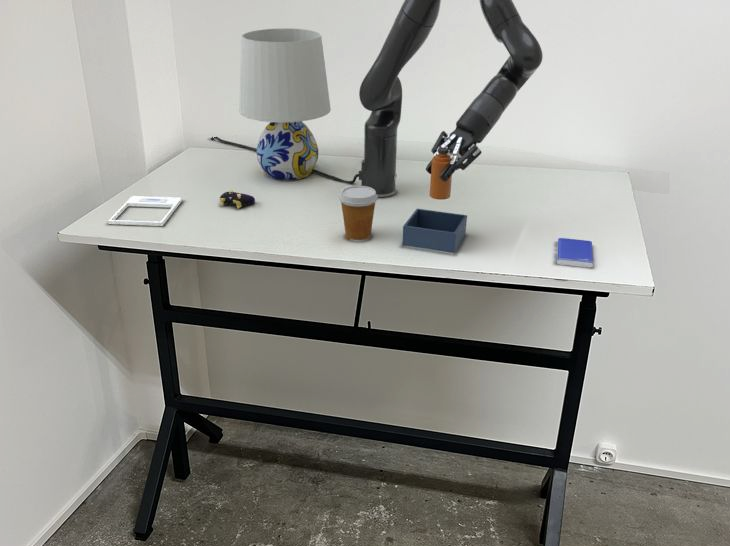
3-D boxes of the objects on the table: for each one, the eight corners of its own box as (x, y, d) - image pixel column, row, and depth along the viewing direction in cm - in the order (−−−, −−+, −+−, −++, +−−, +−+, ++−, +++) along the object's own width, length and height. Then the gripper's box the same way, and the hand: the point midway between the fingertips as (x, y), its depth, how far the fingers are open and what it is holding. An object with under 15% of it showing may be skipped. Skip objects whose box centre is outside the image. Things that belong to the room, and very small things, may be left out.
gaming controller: (257, 198, 201) (248, 189, 196) (251, 216, 200) (241, 207, 195) (228, 193, 205) (218, 184, 199) (222, 210, 204) (212, 201, 198)
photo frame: (181, 197, 202) (161, 221, 187) (182, 200, 202) (162, 225, 187) (131, 195, 203) (107, 220, 188) (132, 199, 203) (108, 223, 188)
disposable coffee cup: (348, 247, 177) (348, 201, 170) (333, 232, 184) (333, 188, 177) (383, 240, 180) (384, 195, 173) (367, 226, 187) (367, 182, 181)
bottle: (427, 198, 172) (430, 151, 165) (432, 191, 176) (435, 144, 169) (447, 200, 170) (451, 153, 164) (452, 193, 174) (456, 147, 168)
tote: (402, 247, 177) (403, 226, 174) (415, 228, 186) (416, 208, 183) (454, 255, 173) (455, 233, 170) (465, 235, 182) (467, 215, 179)
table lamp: (283, 153, 238) (276, 24, 217) (349, 169, 225) (348, 32, 203) (226, 176, 220) (212, 36, 198) (294, 194, 207) (286, 47, 185)
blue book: (593, 262, 166) (592, 240, 176) (557, 258, 168) (558, 237, 178) (592, 268, 167) (591, 246, 177) (556, 264, 169) (557, 243, 179)
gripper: (453, 100, 170) (409, 158, 172) (491, 115, 160) (444, 176, 161) (469, 120, 175) (426, 175, 177) (507, 135, 165) (461, 194, 167)
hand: (435, 175), depth 169 cm, fingers closed on bottle, 5 cm apart
